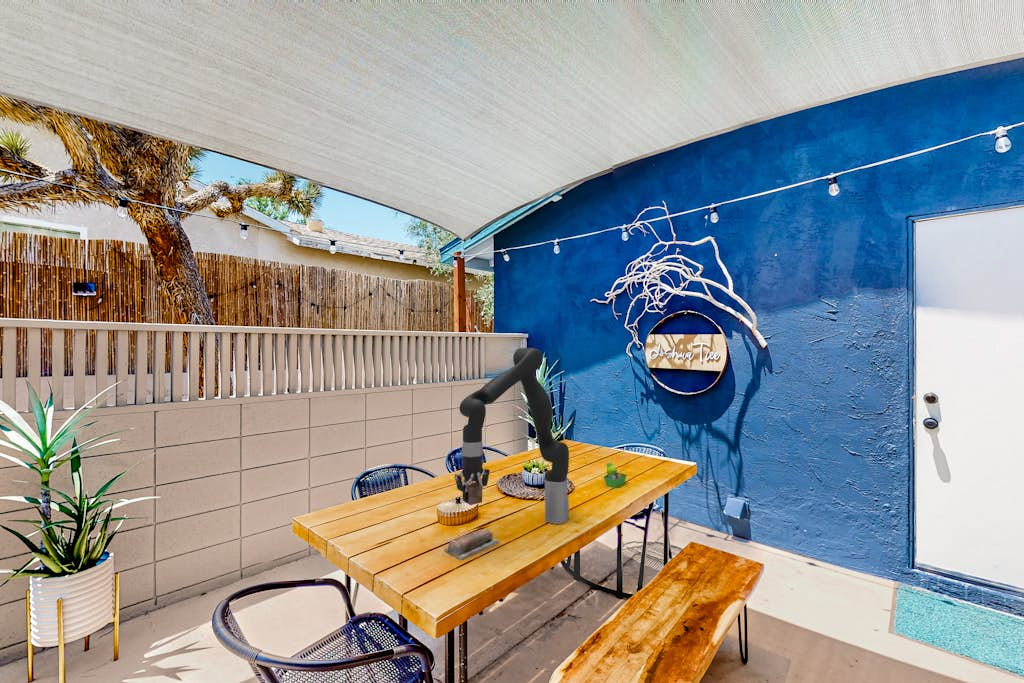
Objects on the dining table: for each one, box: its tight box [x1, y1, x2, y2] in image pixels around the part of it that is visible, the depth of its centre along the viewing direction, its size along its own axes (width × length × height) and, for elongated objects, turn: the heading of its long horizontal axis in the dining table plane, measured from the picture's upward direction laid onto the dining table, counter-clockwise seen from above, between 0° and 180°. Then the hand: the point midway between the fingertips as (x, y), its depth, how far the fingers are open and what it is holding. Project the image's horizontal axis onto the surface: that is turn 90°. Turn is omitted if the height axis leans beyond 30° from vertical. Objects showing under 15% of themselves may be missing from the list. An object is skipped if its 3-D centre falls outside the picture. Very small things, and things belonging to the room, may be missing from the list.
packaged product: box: [443, 528, 500, 561], centre depth 157 cm, size 18×5×10 cm
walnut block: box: [462, 481, 483, 506], centre depth 157 cm, size 5×5×6 cm
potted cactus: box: [603, 462, 628, 489], centre depth 226 cm, size 11×9×11 cm
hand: (472, 499), depth 157 cm, fingers closed on walnut block, 5 cm apart
